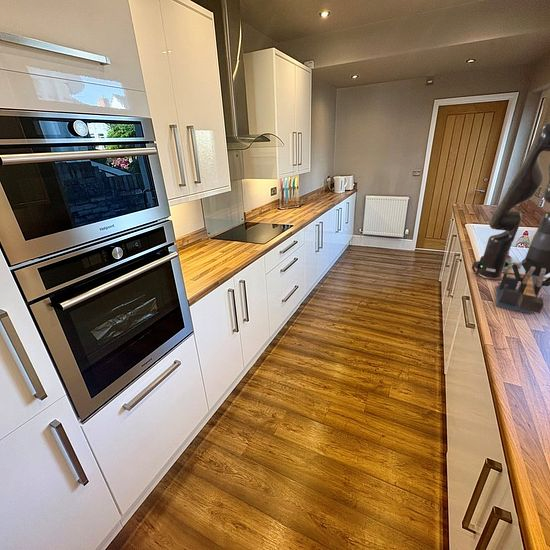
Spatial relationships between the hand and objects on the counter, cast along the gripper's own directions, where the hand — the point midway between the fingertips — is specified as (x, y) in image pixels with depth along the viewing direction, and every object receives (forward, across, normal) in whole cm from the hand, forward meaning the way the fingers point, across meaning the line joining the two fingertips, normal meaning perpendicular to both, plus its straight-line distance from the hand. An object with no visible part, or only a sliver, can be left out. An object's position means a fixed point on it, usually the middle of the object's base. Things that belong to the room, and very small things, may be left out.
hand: (526, 293), depth 98 cm
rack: (+16, -1, -28) cm, 33 cm away
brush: (0, 0, +1) cm, 1 cm away
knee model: (+17, +1, -72) cm, 74 cm away
